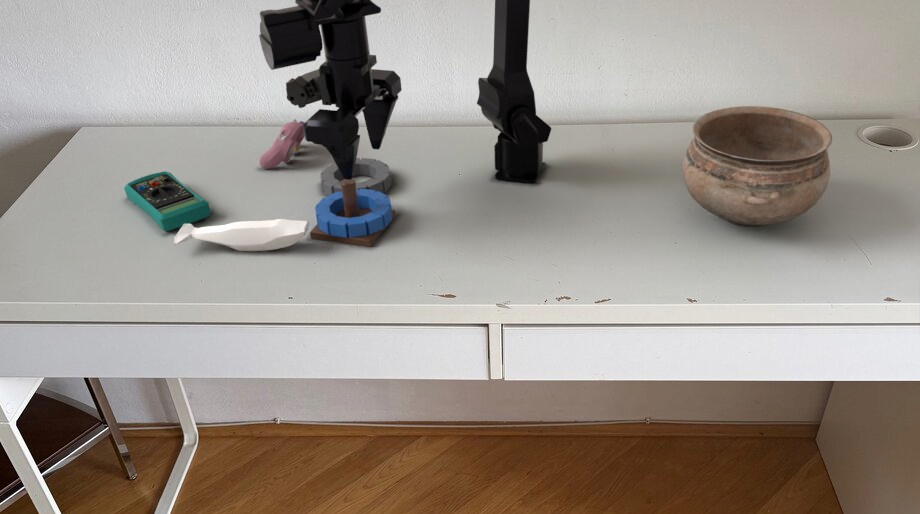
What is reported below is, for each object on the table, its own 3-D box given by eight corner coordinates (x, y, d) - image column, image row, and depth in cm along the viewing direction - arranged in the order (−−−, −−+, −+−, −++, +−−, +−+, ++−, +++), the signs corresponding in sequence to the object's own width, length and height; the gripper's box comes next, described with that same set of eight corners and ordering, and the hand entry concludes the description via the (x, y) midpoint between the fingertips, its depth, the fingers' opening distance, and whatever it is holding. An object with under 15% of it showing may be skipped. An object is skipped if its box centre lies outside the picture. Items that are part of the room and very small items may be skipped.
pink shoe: (282, 180, 139) (294, 144, 135) (255, 167, 138) (267, 130, 134) (304, 154, 147) (316, 119, 142) (279, 141, 146) (290, 106, 142)
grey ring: (401, 173, 136) (400, 161, 135) (374, 204, 128) (373, 192, 127) (340, 166, 139) (338, 154, 137) (310, 196, 131) (308, 184, 130)
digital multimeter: (171, 183, 136) (166, 166, 134) (213, 217, 126) (209, 199, 125) (125, 199, 132) (120, 181, 131) (165, 235, 123) (160, 216, 121)
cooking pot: (834, 265, 110) (856, 177, 103) (680, 258, 113) (691, 171, 106) (804, 176, 130) (821, 97, 123) (674, 172, 133) (683, 94, 125)
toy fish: (306, 258, 116) (301, 232, 114) (175, 257, 118) (168, 231, 116) (315, 238, 121) (311, 212, 118) (189, 236, 122) (182, 211, 120)
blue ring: (403, 206, 125) (401, 193, 124) (373, 241, 117) (372, 228, 116) (337, 197, 128) (335, 185, 127) (304, 231, 120) (302, 219, 119)
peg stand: (395, 215, 125) (391, 170, 121) (370, 247, 118) (364, 200, 114) (338, 208, 127) (332, 163, 123) (310, 238, 121) (302, 192, 117)
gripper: (323, 25, 122) (339, 130, 131) (255, 75, 108) (279, 188, 117) (397, 29, 118) (408, 137, 128) (337, 81, 105) (354, 197, 114)
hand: (362, 163), depth 122 cm, fingers open, 9 cm apart
